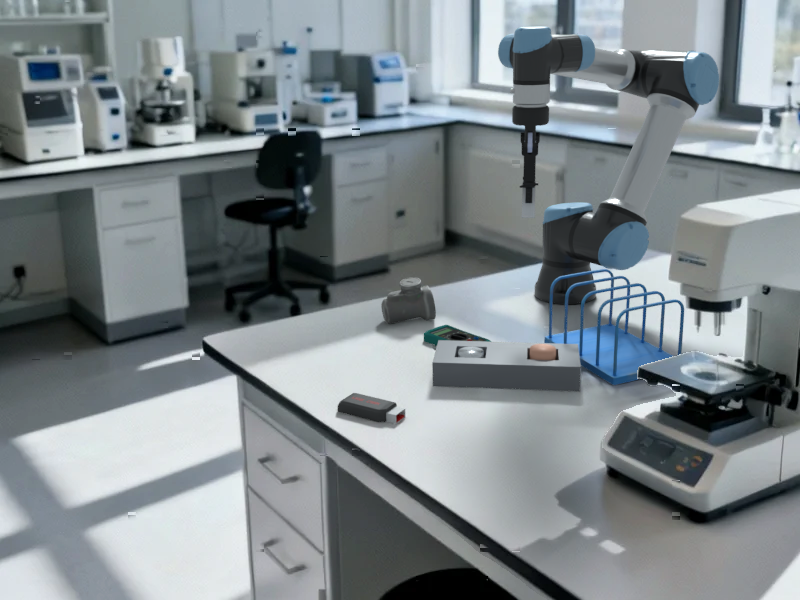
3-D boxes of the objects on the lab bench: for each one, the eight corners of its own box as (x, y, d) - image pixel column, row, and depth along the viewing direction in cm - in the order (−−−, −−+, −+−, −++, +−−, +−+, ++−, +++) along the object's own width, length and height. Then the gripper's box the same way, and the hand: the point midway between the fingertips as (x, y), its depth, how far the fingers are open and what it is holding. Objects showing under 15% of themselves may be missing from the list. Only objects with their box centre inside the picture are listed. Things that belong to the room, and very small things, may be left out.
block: (576, 367, 186) (577, 344, 185) (579, 391, 175) (580, 367, 173) (438, 362, 190) (438, 340, 188) (432, 386, 179) (432, 362, 177)
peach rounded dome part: (555, 363, 183) (555, 344, 182) (555, 372, 178) (556, 353, 177) (529, 362, 184) (530, 343, 182) (529, 371, 179) (529, 352, 178)
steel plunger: (484, 365, 185) (484, 347, 184) (482, 375, 180) (483, 356, 179) (459, 364, 186) (459, 346, 184) (457, 374, 181) (457, 355, 180)
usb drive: (353, 402, 173) (353, 389, 172) (408, 416, 167) (407, 402, 166) (337, 413, 169) (336, 399, 168) (392, 427, 163) (392, 413, 162)
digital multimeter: (470, 361, 192) (470, 348, 191) (422, 342, 202) (421, 330, 201) (494, 352, 196) (494, 339, 195) (446, 334, 207) (446, 322, 206)
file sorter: (543, 344, 199) (545, 276, 194) (610, 331, 206) (613, 265, 201) (613, 386, 177) (617, 310, 172) (685, 370, 184) (691, 297, 179)
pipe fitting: (431, 310, 220) (426, 271, 216) (439, 324, 213) (434, 283, 209) (381, 320, 218) (376, 280, 214) (388, 334, 211) (382, 293, 207)
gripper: (513, 101, 197) (511, 210, 204) (511, 108, 184) (509, 224, 192) (548, 101, 196) (545, 210, 203) (549, 108, 183) (546, 224, 191)
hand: (528, 216), depth 197 cm, fingers closed
